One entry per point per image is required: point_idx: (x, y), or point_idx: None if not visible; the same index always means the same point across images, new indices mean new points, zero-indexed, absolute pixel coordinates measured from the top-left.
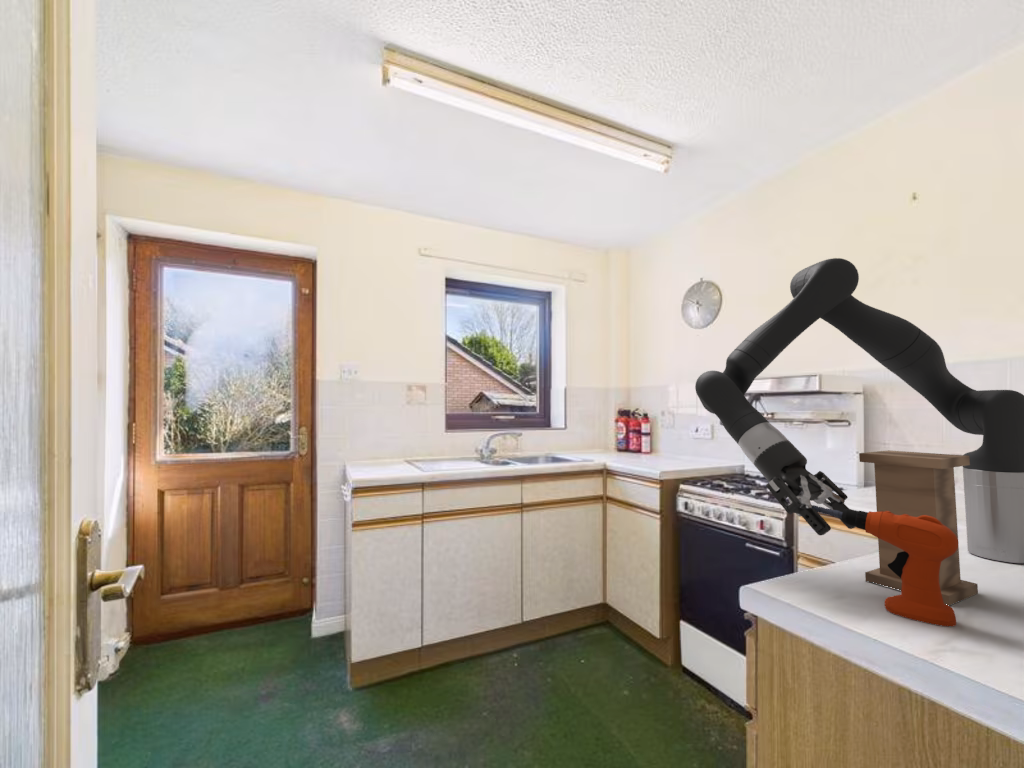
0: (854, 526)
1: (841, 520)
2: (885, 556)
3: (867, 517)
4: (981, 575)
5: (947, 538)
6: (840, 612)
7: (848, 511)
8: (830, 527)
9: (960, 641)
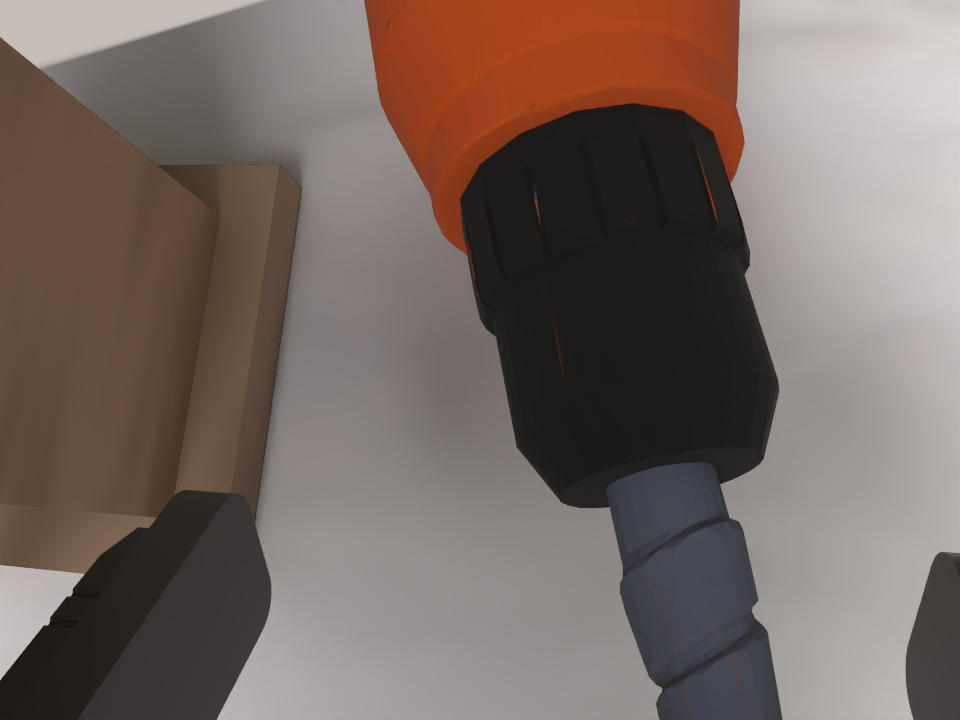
0: (258, 547)
1: (219, 712)
2: (98, 466)
3: (718, 93)
4: None
5: None
6: (945, 444)
7: (720, 350)
8: (952, 553)
9: (743, 7)
